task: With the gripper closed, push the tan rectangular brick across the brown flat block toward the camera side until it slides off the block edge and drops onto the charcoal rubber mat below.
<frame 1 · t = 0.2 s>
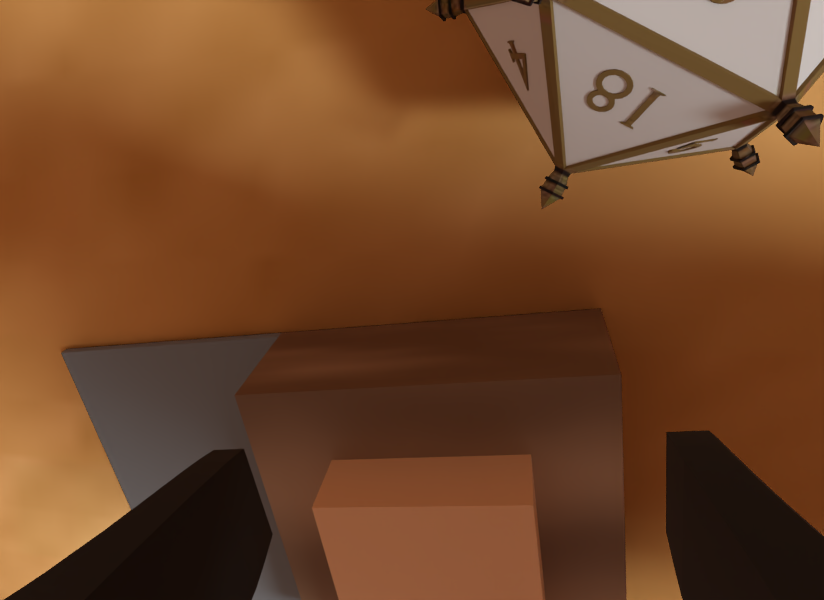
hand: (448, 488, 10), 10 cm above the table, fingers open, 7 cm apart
mat: (222, 487, 25), on the table
brown flat block: (458, 483, 23), on the table
tan rectangular brick: (448, 568, 19), point 4 cm above the table, touching brown flat block
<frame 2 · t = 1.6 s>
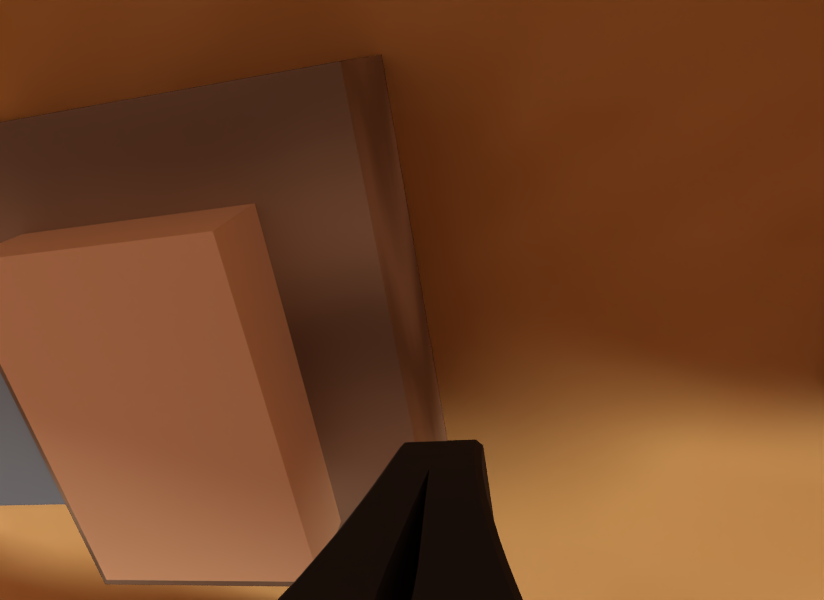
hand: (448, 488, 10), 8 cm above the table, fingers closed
brown flat block: (254, 320, 19), on the table
tan rectangular brick: (193, 388, 15), point 4 cm above the table, touching brown flat block
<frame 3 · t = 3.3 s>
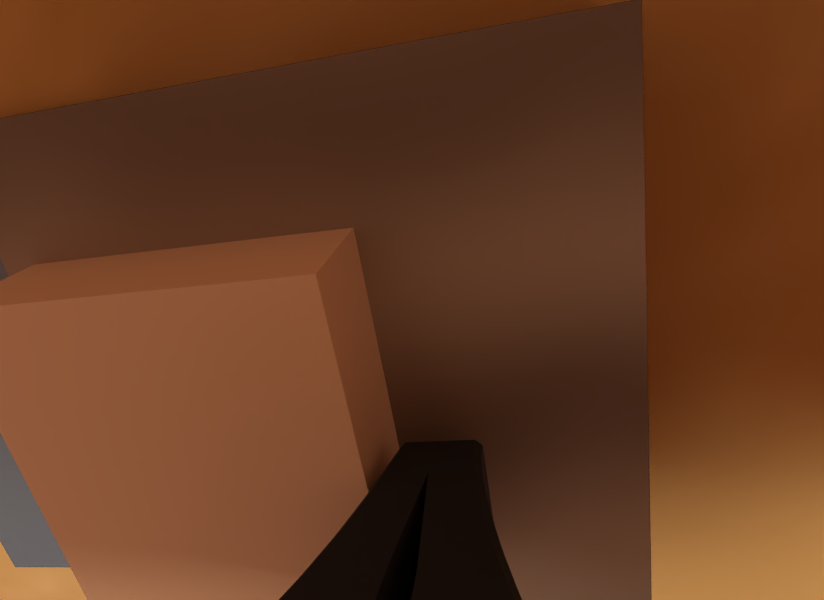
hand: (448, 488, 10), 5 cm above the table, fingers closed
mat: (50, 380, 17), on the table
brown flat block: (385, 355, 15), on the table
tan rectangular brick: (254, 460, 12), point 4 cm above the table, touching brown flat block, gripper
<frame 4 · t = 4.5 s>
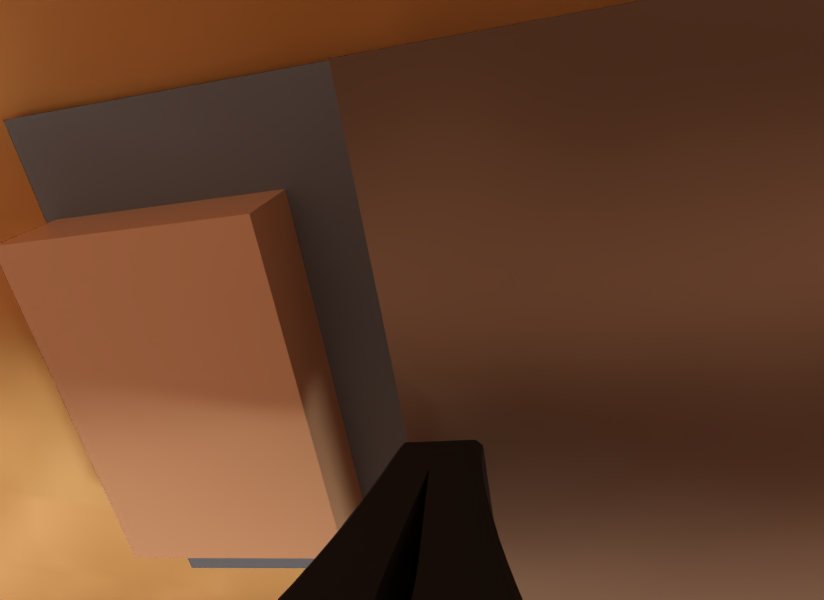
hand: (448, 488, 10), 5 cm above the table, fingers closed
mat: (268, 364, 16), on the table
brown flat block: (671, 334, 14), on the table
tan rectangular brick: (182, 415, 14), point 2 cm above the table, tilted 180°, touching mat
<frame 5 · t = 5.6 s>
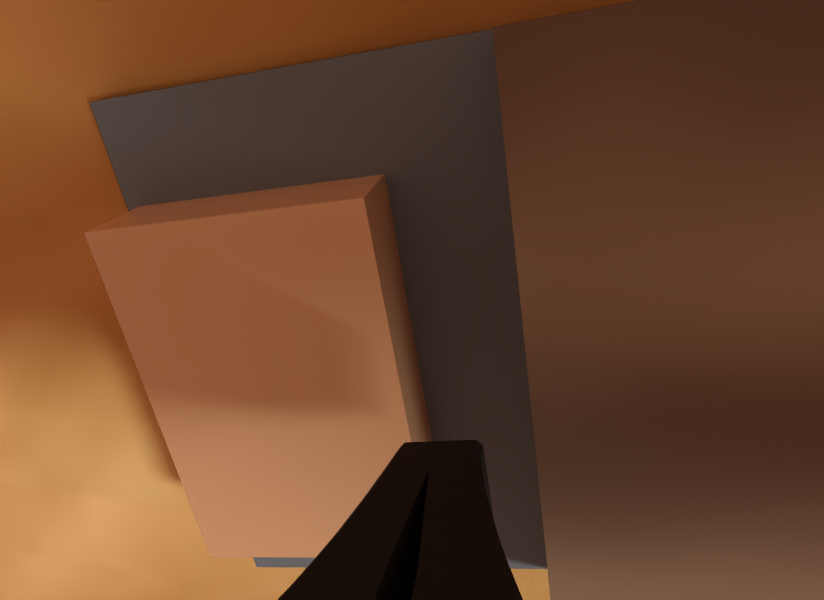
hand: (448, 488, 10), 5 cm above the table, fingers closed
mat: (351, 357, 15), on the table
brown flat block: (782, 326, 13), on the table
tan rectangular brick: (273, 409, 13), point 2 cm above the table, tilted 180°, touching mat
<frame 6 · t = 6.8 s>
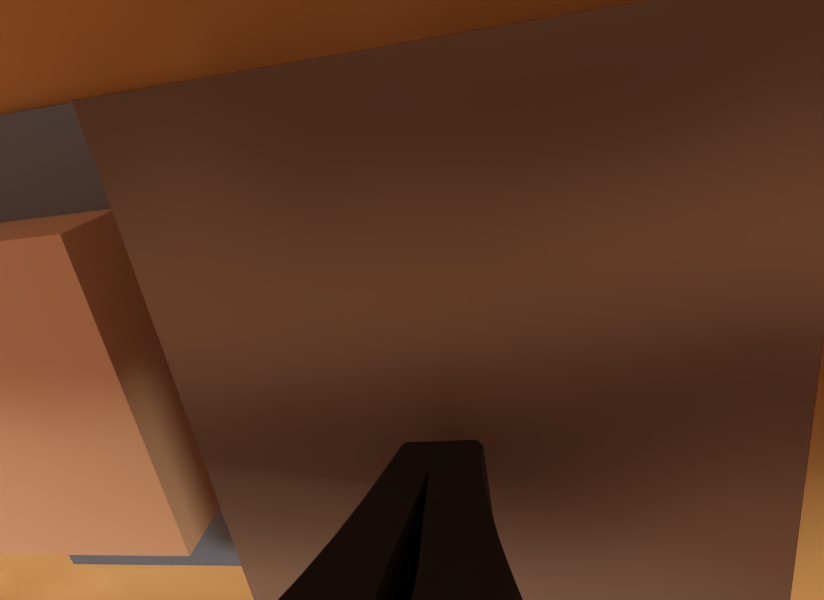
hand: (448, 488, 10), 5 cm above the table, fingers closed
mat: (124, 371, 16), on the table
brown flat block: (484, 347, 14), on the table
tan rectangular brick: (25, 419, 15), point 2 cm above the table, tilted 180°, touching mat
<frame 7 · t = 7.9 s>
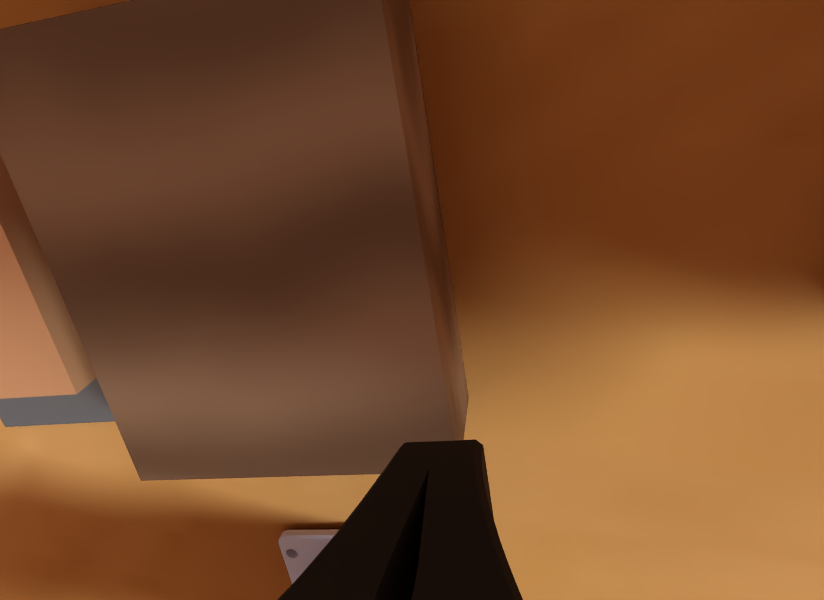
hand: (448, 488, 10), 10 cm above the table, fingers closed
mat: (31, 261, 22), on the table
brown flat block: (280, 232, 20), on the table
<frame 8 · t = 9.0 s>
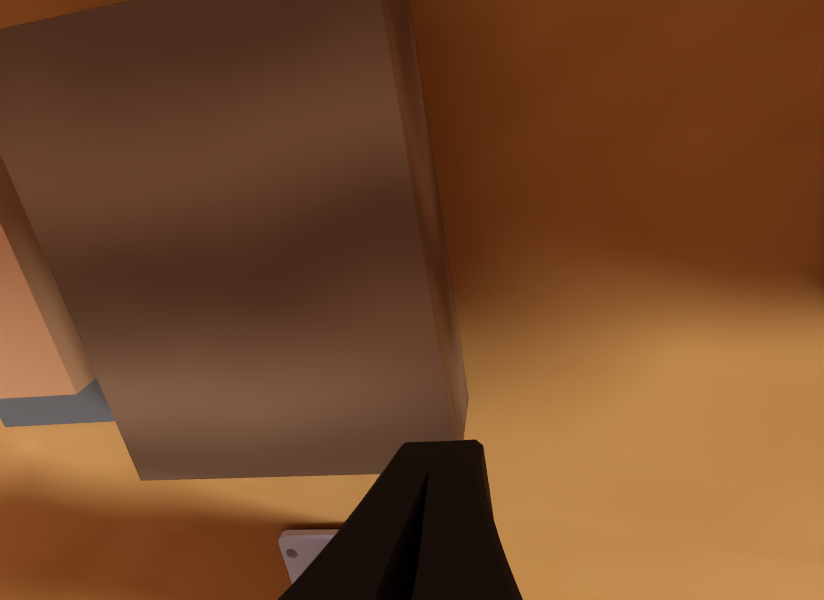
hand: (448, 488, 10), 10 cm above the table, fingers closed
mat: (31, 261, 22), on the table
brown flat block: (280, 232, 20), on the table
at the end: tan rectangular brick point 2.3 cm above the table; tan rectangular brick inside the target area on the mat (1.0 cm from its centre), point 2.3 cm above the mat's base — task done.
